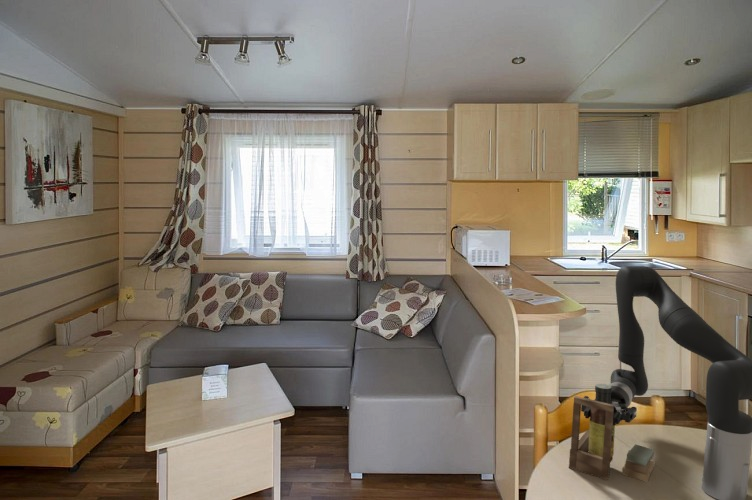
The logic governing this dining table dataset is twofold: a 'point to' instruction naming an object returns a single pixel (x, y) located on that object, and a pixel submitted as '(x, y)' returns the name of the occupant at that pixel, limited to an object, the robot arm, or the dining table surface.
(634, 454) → the offcut stack
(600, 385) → the sauce bottle
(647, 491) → the dining table surface
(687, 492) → the dining table surface
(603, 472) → the walnut rack
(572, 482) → the dining table surface
